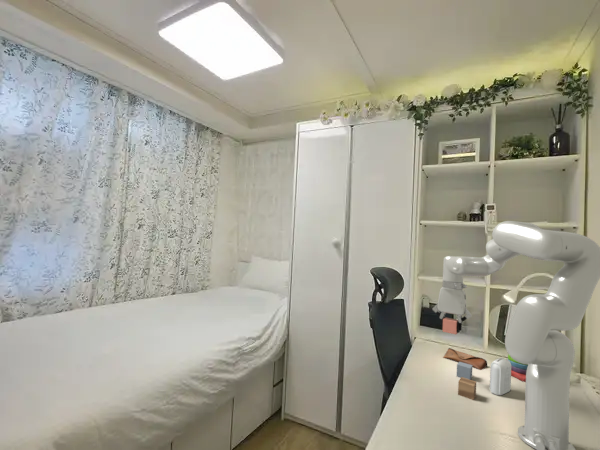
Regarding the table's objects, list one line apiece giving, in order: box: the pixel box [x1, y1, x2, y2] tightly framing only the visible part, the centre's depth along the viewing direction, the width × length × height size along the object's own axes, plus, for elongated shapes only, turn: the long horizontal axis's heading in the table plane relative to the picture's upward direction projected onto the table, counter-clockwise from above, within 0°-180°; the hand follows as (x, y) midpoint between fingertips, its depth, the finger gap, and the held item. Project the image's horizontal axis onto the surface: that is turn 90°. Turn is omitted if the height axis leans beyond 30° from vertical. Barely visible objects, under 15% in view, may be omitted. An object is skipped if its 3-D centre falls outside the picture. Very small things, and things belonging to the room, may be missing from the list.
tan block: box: [457, 377, 477, 401], centre depth 108 cm, size 5×5×5 cm
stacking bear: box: [507, 354, 528, 383], centre depth 130 cm, size 11×10×18 cm
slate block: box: [456, 362, 473, 380], centre depth 124 cm, size 5×5×5 cm
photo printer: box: [489, 357, 512, 396], centre depth 113 cm, size 10×4×12 cm, turn 123°
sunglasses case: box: [442, 347, 488, 371], centre depth 142 cm, size 18×7×7 cm
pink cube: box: [442, 317, 458, 335], centre depth 120 cm, size 5×5×5 cm
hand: (450, 329), depth 120 cm, fingers closed on pink cube, 4 cm apart
